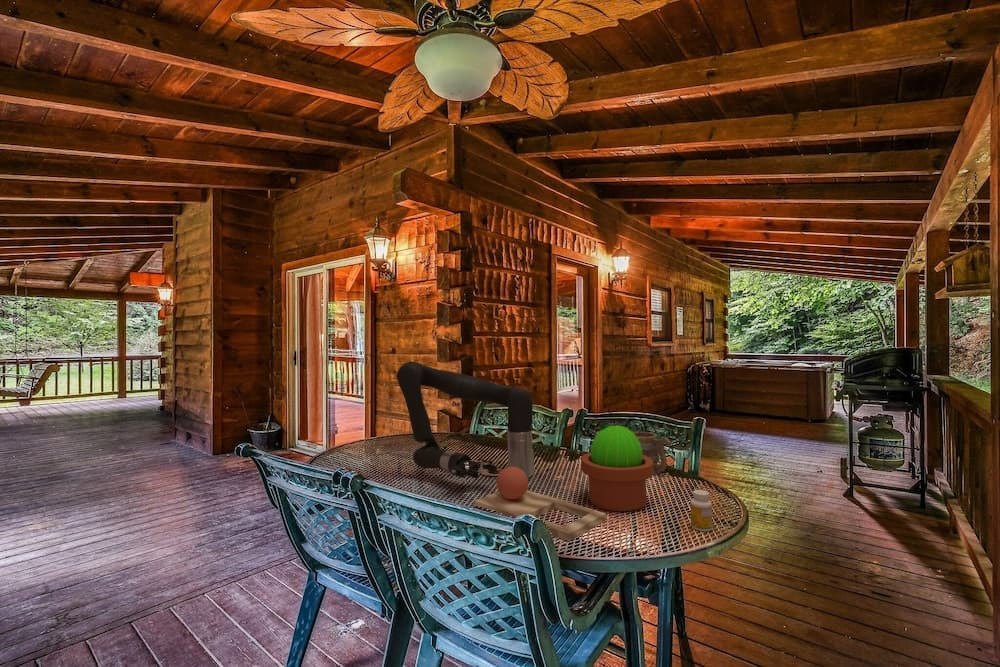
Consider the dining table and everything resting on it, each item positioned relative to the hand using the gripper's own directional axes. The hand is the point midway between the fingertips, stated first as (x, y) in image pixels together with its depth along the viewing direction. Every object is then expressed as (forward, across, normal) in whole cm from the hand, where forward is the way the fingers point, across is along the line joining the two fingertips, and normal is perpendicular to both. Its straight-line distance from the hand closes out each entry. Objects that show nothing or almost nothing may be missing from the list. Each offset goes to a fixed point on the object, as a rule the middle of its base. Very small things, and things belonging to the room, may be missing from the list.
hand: (487, 472), depth 154 cm
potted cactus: (+34, +24, +8) cm, 43 cm away
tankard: (+28, +59, +8) cm, 66 cm away
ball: (+11, 0, +1) cm, 11 cm away
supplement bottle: (+61, +22, +8) cm, 66 cm away
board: (+21, 0, +8) cm, 23 cm away
